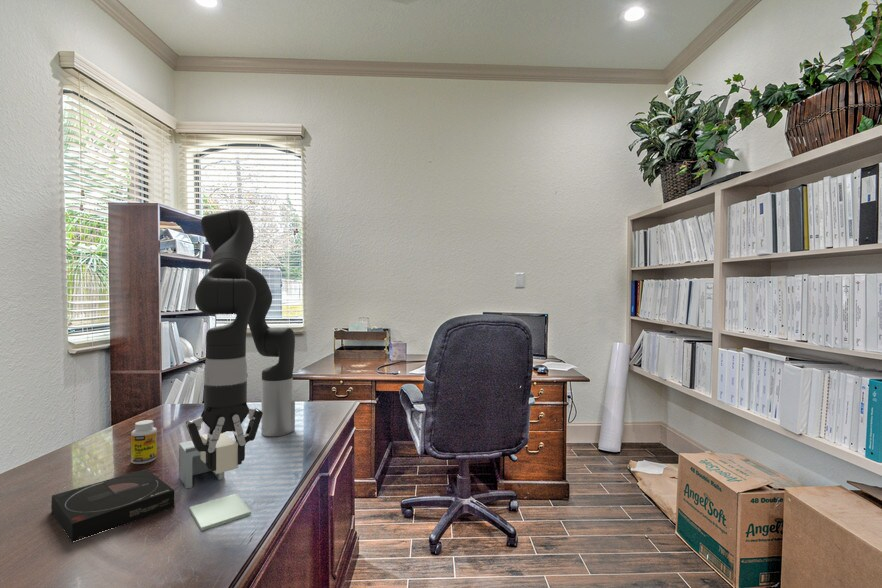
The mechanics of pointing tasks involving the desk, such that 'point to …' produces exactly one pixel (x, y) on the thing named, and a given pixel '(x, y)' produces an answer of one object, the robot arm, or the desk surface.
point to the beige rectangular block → (223, 453)
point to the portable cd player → (111, 503)
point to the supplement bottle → (143, 442)
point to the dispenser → (191, 463)
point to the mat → (219, 511)
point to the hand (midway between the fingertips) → (225, 466)
